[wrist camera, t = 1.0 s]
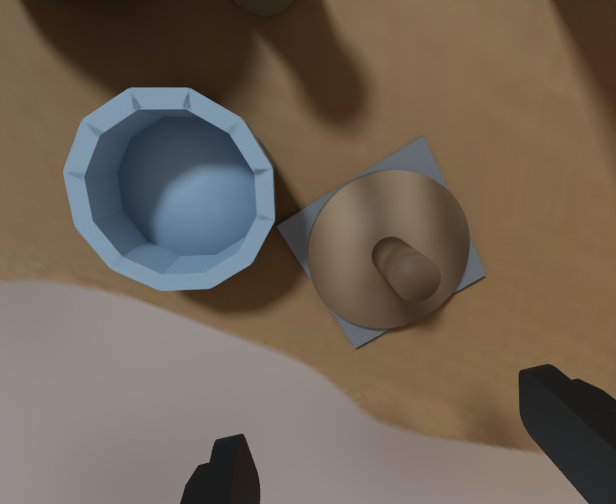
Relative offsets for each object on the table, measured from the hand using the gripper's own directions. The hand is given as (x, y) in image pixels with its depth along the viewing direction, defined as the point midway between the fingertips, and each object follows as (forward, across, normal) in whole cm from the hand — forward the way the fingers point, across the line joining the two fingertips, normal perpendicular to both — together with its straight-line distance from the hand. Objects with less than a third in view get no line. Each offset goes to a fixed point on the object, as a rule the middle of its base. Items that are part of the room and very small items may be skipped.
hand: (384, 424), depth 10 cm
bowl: (+20, +9, -7) cm, 23 cm away
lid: (+20, -6, +2) cm, 21 cm away
